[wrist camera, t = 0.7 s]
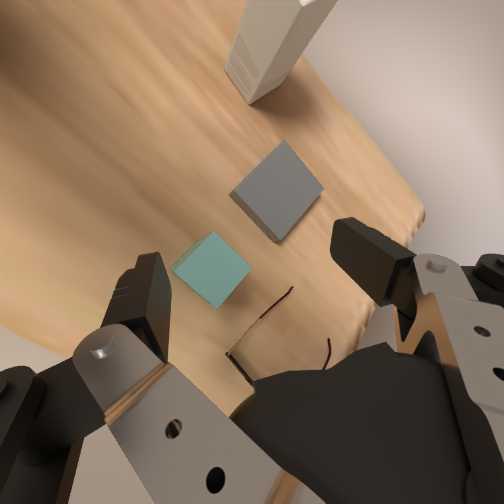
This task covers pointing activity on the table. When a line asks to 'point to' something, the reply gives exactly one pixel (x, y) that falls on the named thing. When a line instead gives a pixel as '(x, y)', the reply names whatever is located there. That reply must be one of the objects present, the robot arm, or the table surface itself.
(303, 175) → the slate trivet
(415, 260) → the robot arm
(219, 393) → the table surface
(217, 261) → the teal block
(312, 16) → the skincare box
